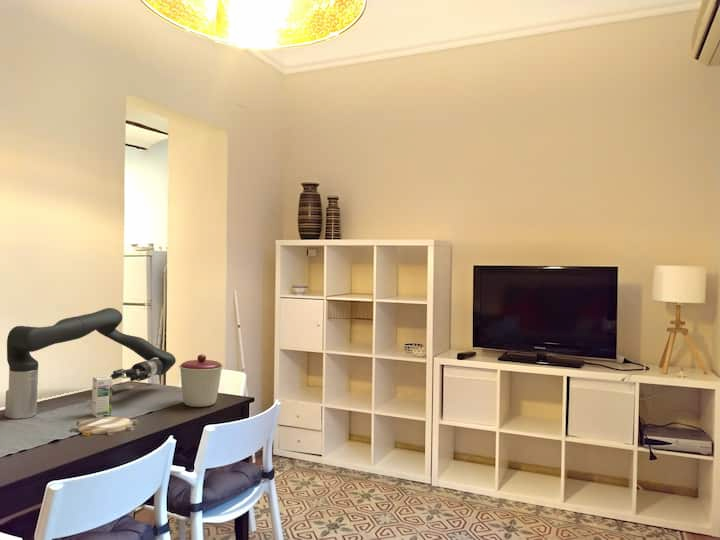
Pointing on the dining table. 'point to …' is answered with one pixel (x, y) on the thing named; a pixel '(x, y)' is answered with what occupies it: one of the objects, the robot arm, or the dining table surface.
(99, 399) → the syrup box
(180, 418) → the dining table surface
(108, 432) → the sprocket
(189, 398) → the canister
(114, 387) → the caliper
